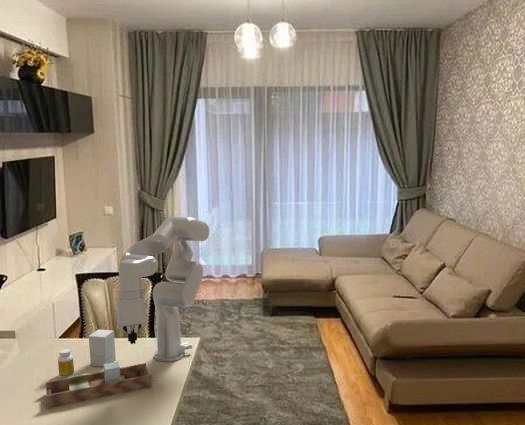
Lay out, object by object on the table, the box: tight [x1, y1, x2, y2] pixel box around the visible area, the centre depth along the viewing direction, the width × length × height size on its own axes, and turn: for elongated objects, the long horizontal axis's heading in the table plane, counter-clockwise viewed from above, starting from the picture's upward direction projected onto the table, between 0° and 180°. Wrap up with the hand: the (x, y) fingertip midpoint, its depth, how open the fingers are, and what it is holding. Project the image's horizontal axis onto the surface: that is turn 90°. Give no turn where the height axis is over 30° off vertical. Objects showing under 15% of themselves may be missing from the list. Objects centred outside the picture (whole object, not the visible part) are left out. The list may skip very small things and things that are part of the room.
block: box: [103, 361, 121, 383], centre depth 174 cm, size 5×5×6 cm
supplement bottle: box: [57, 348, 75, 379], centre depth 184 cm, size 5×5×10 cm
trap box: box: [45, 362, 153, 410], centre depth 172 cm, size 35×11×5 cm, turn 114°
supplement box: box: [88, 329, 117, 368], centre depth 194 cm, size 7×7×13 cm
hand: (132, 342), depth 175 cm, fingers closed
